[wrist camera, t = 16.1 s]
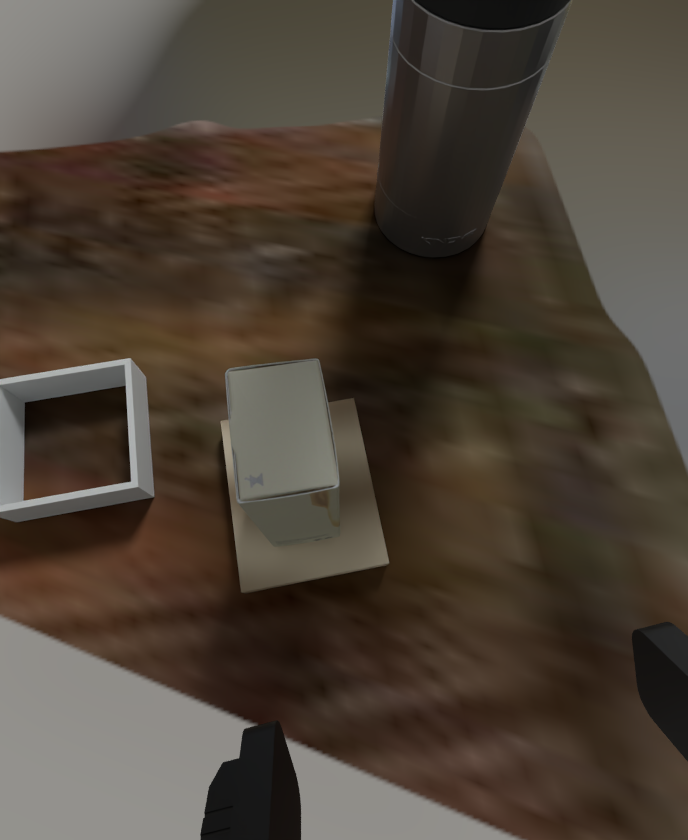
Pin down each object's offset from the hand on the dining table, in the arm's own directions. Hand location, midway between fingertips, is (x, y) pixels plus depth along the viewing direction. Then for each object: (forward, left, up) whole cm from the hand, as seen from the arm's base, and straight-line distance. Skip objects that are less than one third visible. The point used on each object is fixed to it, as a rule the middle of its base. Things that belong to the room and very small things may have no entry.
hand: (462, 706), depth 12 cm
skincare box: (-10, -3, -20) cm, 23 cm away
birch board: (-10, -3, -22) cm, 24 cm away
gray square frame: (-16, -17, -22) cm, 32 cm away
